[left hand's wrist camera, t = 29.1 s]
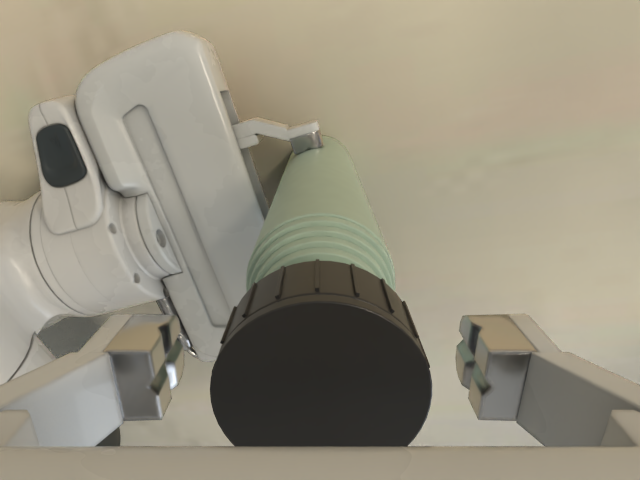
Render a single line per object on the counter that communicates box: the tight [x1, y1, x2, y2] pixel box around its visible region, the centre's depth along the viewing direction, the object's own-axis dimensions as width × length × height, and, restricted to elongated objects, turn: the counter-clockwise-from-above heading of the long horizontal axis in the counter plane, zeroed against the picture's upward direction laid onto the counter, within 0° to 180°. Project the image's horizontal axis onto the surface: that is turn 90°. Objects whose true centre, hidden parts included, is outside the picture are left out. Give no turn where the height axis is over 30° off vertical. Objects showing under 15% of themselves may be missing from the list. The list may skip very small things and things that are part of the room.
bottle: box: [246, 136, 395, 293], centre depth 20 cm, size 5×5×23 cm
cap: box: [210, 259, 432, 447], centre depth 9 cm, size 4×5×2 cm
